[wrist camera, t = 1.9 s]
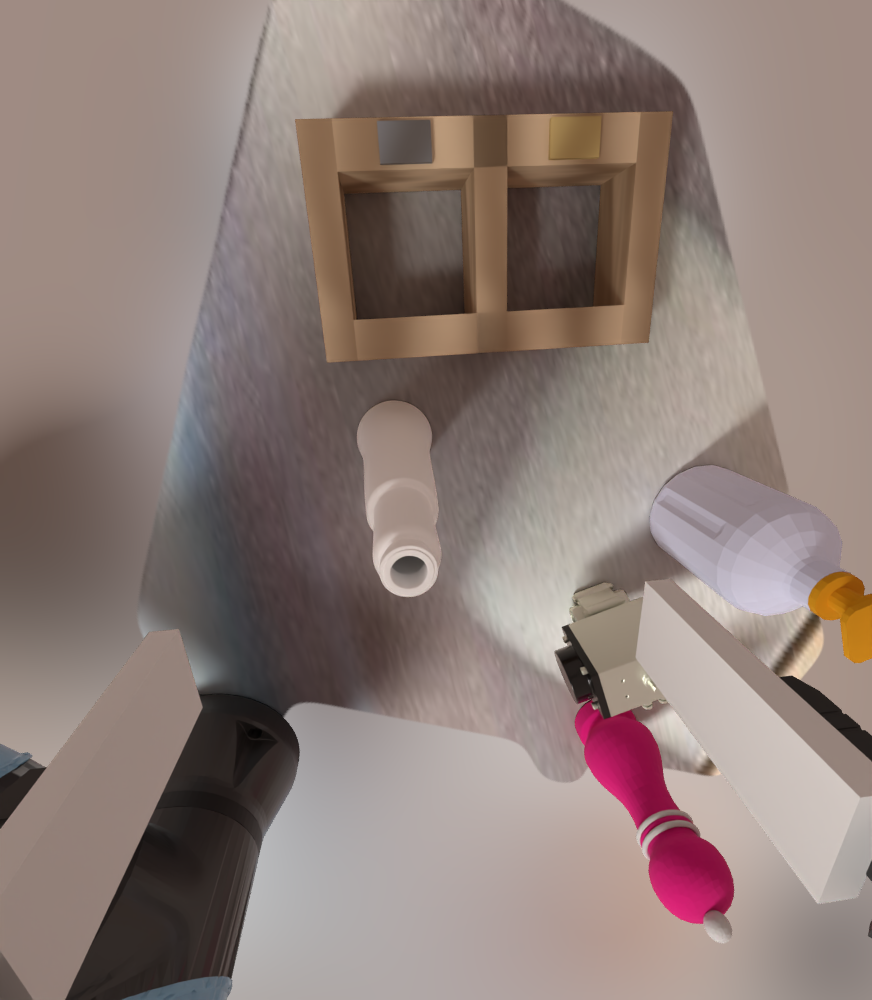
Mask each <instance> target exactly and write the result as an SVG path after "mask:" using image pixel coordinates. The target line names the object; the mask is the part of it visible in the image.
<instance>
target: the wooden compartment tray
mask: <svg viewBox="0 0 872 1000" xmlns="http://www.w3.org/2000/svg"><path fill="white" fill-rule="evenodd" d="M672 116H673V111H666V112H618V113H570V114H522V115H474V116H427V117H379V118H331V119H295V122H296V130H297V138H298V145H299V153H300V160H301V168H302V176H303V183H304V191H305V199H306V206H307V214H308V221H309V229H310V237H311V244H312V252H313V259H314V267H315V275H316V282H317V290H318V297H319V305H320V313H321V320H322V328H323V336H324V343H325V351H326V358H327V363H329V362H345V361H361V360H377V359H393V358H409V357H425V356H441V355H457V354H473V353H489V352H505V351H521V350H537V349H553V348H569V347H585V346H601V345H617V344H633V343H649V333H650V324H651V315H652V305H653V296H654V286H655V277H656V267H657V258H658V249H659V239H660V230H661V220H662V211H663V201H664V192H665V183H666V173H667V164H668V154H669V145H670V135H671V126H672ZM588 185H601V188H600V203H599V219H598V235H597V251H596V266H595V282H594V298H593V307H579V308H561V309H543V310H525V311H507V188H529V187H558V186H588ZM440 190H461V211H462V246H463V281H464V314H453V315H435V316H417V317H399V318H381V319H363V320H357V312H356V303H355V294H354V284H353V275H352V265H351V256H350V246H349V237H348V227H347V218H346V208H345V199H344V194H351V193H381V192H411V191H440Z"/></svg>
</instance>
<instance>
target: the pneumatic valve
mask: <svg viewBox="0 0 872 1000" xmlns="http://www.w3.org/2000/svg"><path fill="white" fill-rule="evenodd" d="M612 587H613V584H611V583H606V582H604V583H601V584H599V585H596V586H593V587H591V588H588V589H585V590H583V591H580V592H577V593H575V594H574V596H573V597H572V599H573V601H574V602H577V604H578V605H576V606H574V607H571V608H570V609H569V612H570V615H571V618H572V620H573V622H574V623H571V624H569V625H566V626H563V627H562V630H563V633H564V637H562V638H563V640H564V642H565V643H567V645H568V646H566V647H564V648H561V649H558V650H556V651H555V657H556V660H557V663H558V666H559V668H560V671H561V673H562V676H563V678H564V680H565V683H566V685H567V687H568V689H569V691H570V693H571V695H572V697H573V699H574V701H575V702H576V703H577V704H579V703H582V702H584V701H587V700H590V699H592V701H593V702H592V703H591V704H592V707H593V709H594V710H596V709H598V710H599V712H600V713H601V715H602V717H603V719H607V718H610V717H612V716H615V715H618V714H620V713H623V712H626V711H629V710H631V709H634V708H637V707H640V706H642V707H643V708H644V709H646V710H650V709H652V708H653V703H652V702H653V701H656V700H658V701H659V702H660V703H662V704H667V703H668V701H667V700H666V698H665V697H664V696H663V694H662V693H661V691H660V690H659V689H658V687H657V686H656V685H655V683H654V682H653V681H652V679H651V678H650V677H649V675H648V674H647V673H646V671H645V670H644V668H643V667H642V666H641V664H640V663H639V662H638V660H637V659H636V650H637V642H638V634H639V627H640V619H641V611H642V603H643V597H641V598H638V599H635V600H633V601H630V600H629V598H628V596H627V594H626V593H625V592H624V591H623V590H622V589H620V590H616V591H614V592H613V591H612V590H611V589H613V588H612Z"/></svg>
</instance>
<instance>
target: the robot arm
mask: <svg viewBox="0 0 872 1000" xmlns="http://www.w3.org/2000/svg"><path fill="white" fill-rule="evenodd" d="M636 659H637V660H638V662H639V663H640V664H641V666H642V667H643V668H644V670H645V671H646V673H647V674H648V675H649V677H650V678H651V679H652V681H653V682H654V683H655V685H656V686H657V687H658V689H659V690H660V691H661V693H662V694H663V696H664V697H665V698H666V700H667V701H668V702H669V704H670V705H671V706H672V708H673V709H674V710H675V712H676V713H677V714H678V716H679V717H680V718H681V720H682V721H683V723H684V724H685V725H686V727H687V728H688V729H689V731H690V732H691V733H692V735H693V736H694V737H695V739H696V740H697V741H698V743H699V744H700V745H701V747H702V748H703V750H704V751H705V752H706V754H707V755H708V756H709V758H710V759H711V760H712V762H713V763H714V764H715V766H716V767H717V768H718V770H719V771H720V772H721V774H722V775H723V777H724V778H725V779H726V781H727V782H728V783H729V784H730V786H731V787H732V789H733V790H734V791H735V793H736V794H737V795H738V797H739V798H740V799H741V801H742V802H743V803H744V805H745V806H746V808H747V809H748V810H749V812H750V813H751V814H752V816H753V817H754V818H755V820H756V821H757V822H758V824H759V825H760V826H761V828H762V829H763V830H764V832H765V833H766V835H767V836H768V837H769V839H770V840H771V841H772V843H773V844H774V845H775V847H776V848H777V849H778V851H779V852H780V853H781V855H782V856H783V858H784V859H785V860H786V862H787V863H788V864H789V866H790V867H791V868H792V869H793V871H794V872H795V874H796V875H797V876H798V878H799V879H800V880H801V882H802V883H803V884H804V886H805V887H806V888H807V890H808V891H809V893H810V894H811V895H812V897H813V898H814V899H815V901H816V902H817V903H818V904H822V903H828V902H834V901H840V900H846V899H853V898H857V897H858V895H859V892H860V890H861V888H862V886H863V884H864V881H865V879H866V877H867V876H868V877H869V879H870V880H871V881H872V736H871V735H870V734H869V733H868V732H866V731H865V730H861V728H860V725H858V724H857V723H856V722H855V721H854V720H853V719H851V718H850V717H849V716H848V715H847V714H843V713H842V710H841V709H840V708H839V707H837V706H836V705H835V704H834V703H833V702H832V701H830V700H829V699H828V698H827V697H826V696H825V695H823V694H822V693H821V692H820V691H818V690H817V689H815V688H813V687H811V686H809V685H807V684H806V683H804V682H802V681H801V680H799V679H797V678H795V677H793V676H785V677H778V676H777V675H776V674H775V673H774V672H773V671H772V670H770V669H769V668H768V667H767V666H766V665H765V664H764V663H763V662H762V661H760V660H759V659H758V658H757V657H756V656H755V655H754V654H753V653H752V652H751V651H749V650H748V649H747V648H746V647H745V646H744V645H743V644H742V643H741V642H740V641H738V640H737V639H736V638H735V637H734V636H733V635H732V634H731V633H730V632H729V631H727V630H726V629H725V628H724V627H723V626H722V625H721V624H720V623H719V622H718V621H716V620H715V619H714V618H713V617H712V616H711V615H710V614H709V613H708V612H707V611H705V610H704V609H703V608H702V607H701V606H700V605H699V604H698V603H697V602H696V601H694V600H693V599H692V598H691V597H690V596H689V595H688V594H687V593H686V592H685V591H683V590H682V589H681V588H680V587H679V586H678V585H677V584H676V583H675V582H673V581H672V580H671V579H663V580H653V581H645V588H644V595H643V603H642V611H641V619H640V627H639V634H638V642H637V650H636ZM299 753H300V752H299V743H298V739H297V737H296V734H295V732H294V731H293V729H292V727H291V726H290V725H289V723H288V722H287V721H286V720H285V719H284V718H283V717H282V716H281V715H280V714H278V713H277V712H276V711H274V710H273V709H271V708H269V707H268V706H266V705H264V704H262V703H259V702H257V701H254V700H251V699H248V698H244V697H240V696H234V695H223V694H214V695H203V696H199V693H198V690H197V687H196V684H195V680H194V677H193V674H192V670H191V667H190V664H189V661H188V657H187V654H186V651H185V647H184V644H183V641H182V638H181V634H180V631H179V629H173V630H163V631H153V632H149V633H148V634H147V636H146V637H145V638H144V640H143V641H142V642H141V644H140V645H139V646H138V648H137V649H136V650H135V652H134V653H133V654H132V656H131V657H130V658H129V660H128V661H127V662H126V664H125V665H124V666H123V668H122V669H121V670H120V671H119V673H118V674H117V676H116V677H115V678H114V680H113V681H112V682H111V684H110V685H109V686H108V687H107V689H106V690H105V692H104V693H103V694H102V696H101V697H100V698H99V699H98V701H97V702H96V703H95V705H94V706H93V707H92V709H91V710H90V711H89V713H88V714H87V715H86V717H85V718H84V719H83V720H82V722H81V723H80V725H79V726H78V727H77V728H76V730H75V731H74V732H73V734H72V735H71V736H70V738H69V739H68V740H67V742H66V743H65V745H64V746H63V747H62V748H61V750H60V751H59V752H58V754H57V755H56V756H55V758H54V759H53V760H52V761H51V763H50V764H49V765H48V767H44V766H42V765H41V764H39V763H37V762H35V761H33V760H32V759H30V758H31V757H32V755H31V754H30V753H18V752H16V751H14V750H12V749H10V748H8V747H6V746H4V745H2V744H0V1000H227V997H228V995H229V994H230V991H231V989H232V980H231V978H232V973H233V969H234V964H235V960H236V955H237V951H238V946H239V942H240V937H241V933H242V929H243V925H244V920H245V915H246V911H247V907H248V902H249V898H250V894H251V889H252V885H253V880H254V876H255V872H256V867H257V863H258V857H259V853H260V849H261V845H262V841H263V838H264V836H265V834H266V832H267V831H268V829H269V827H270V825H271V824H272V822H273V820H274V818H275V816H276V815H277V813H278V811H279V810H280V808H281V806H282V804H283V803H284V801H285V799H286V797H287V795H288V794H289V792H290V790H291V788H292V786H293V783H294V780H295V777H296V772H297V766H298V762H299ZM868 936H869V937H871V938H872V921H871V923H870V927H869V934H868Z"/></svg>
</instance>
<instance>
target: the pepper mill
mask: <svg viewBox="0 0 872 1000" xmlns="http://www.w3.org/2000/svg"><path fill="white" fill-rule="evenodd" d="M592 702H593V701H592V700H591V701H590V702H588V703H586V704H585V705H584V706H583V707H582V708H581V709H580V710H579V712H578V714H577V715H576V719H575V728H576V731H577V733H578V735H579V737H580V739H581V741H582V743H583V744H584V745H585V748H584V755H585V760H586V763H587V765H588V766H589V768H590V770H591V772H592V773H593V775H594V776H595V778H596V779H597V780H598V781H599V782H600V783H601V784H602V785H603V786H604V787H605V788H606V789H607V790H608V791H609V792H610V793H612V794H613V795H614V796H615V797H616V798H617V799H618V800H619V801H621V803H623V805H624V806H625V807H626V809H627V810H628V811H629V813H630V815H631V817H632V818H633V820H634V822H635V825H636V827H637V830H638V831H637V835H636V838H637V842H638V844H639V846H640V847H641V848H642V852H643V855H644V856H645V858H647V859H648V860H649V861H650V862H649V876H650V881H651V884H652V887H653V889H654V891H655V893H656V895H657V896H658V898H659V899H660V901H661V902H662V903H663V905H664V906H665V907H666V908H667V909H668V910H669V911H670V912H671V913H672V914H673V915H675V916H677V917H678V918H680V919H681V920H684V921H687V922H690V923H696V924H703V923H704V927H705V930H706V931H707V933H708V935H709V936H710V937H711V938H712V939H713V940H715V941H716V942H718V943H726V942H728V941H729V940H730V939H731V935H732V928H731V925H730V923H729V921H728V919H727V918H726V917H725V916H724V914H725V913H726V911H727V910H728V909H729V907H730V906H731V903H732V900H733V897H734V884H733V878H732V875H731V872H730V869H729V867H728V865H727V863H726V861H725V859H724V858H723V856H722V855H721V854H720V853H719V851H718V850H717V849H716V848H715V847H714V846H713V845H712V844H711V843H709V842H708V841H706V840H704V839H702V838H700V832H699V830H698V828H697V827H696V826H695V825H694V824H693V820H692V818H691V817H690V816H689V815H688V814H687V813H685V812H683V811H680V809H679V808H678V807H677V805H676V804H675V803H674V801H673V800H672V798H671V796H670V794H669V792H668V790H667V787H666V784H665V781H664V776H663V767H662V760H661V755H660V752H659V748H658V745H657V743H656V741H655V739H654V737H653V735H652V733H651V732H650V730H649V729H648V728H647V727H646V726H645V725H643V724H642V723H640V722H638V721H636V718H635V716H634V714H633V713H632V711H631V710H629V711H626V712H623V713H620V714H618V715H615V716H612V717H610V718H607V719H603V717H602V715H601V713H600V712H599V710H598V709H596V710H594V709H593V707H592V704H591V703H592Z"/></svg>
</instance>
